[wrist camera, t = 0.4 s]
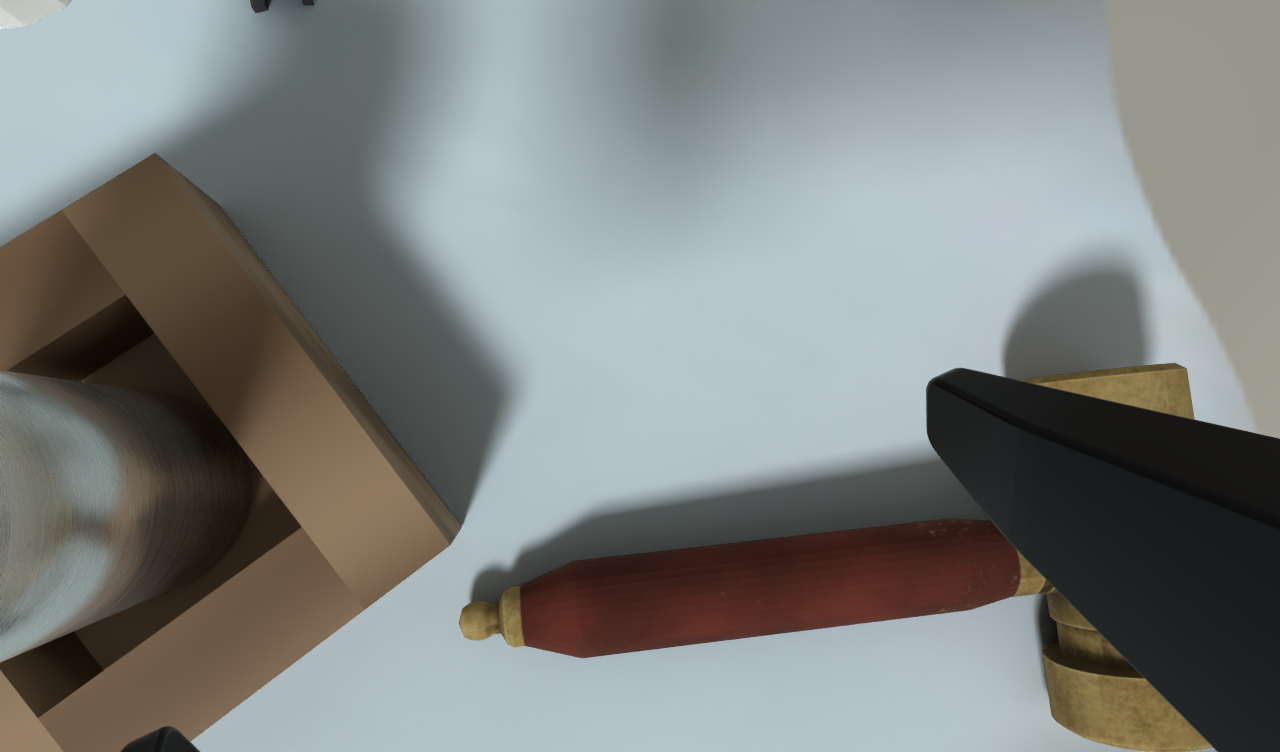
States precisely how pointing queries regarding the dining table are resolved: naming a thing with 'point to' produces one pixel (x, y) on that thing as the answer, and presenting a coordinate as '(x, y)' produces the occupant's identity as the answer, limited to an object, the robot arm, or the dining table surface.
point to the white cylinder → (27, 11)
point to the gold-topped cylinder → (106, 502)
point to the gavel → (853, 593)
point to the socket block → (259, 421)
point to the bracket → (260, 5)
